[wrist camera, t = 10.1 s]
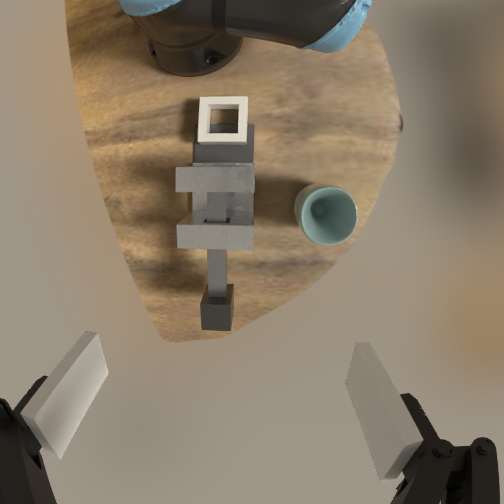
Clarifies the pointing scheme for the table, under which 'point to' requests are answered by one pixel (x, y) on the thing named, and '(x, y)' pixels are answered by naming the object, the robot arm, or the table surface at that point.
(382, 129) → the table surface
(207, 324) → the shaft
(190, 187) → the bearing block
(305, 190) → the cup
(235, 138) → the block
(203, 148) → the mat
